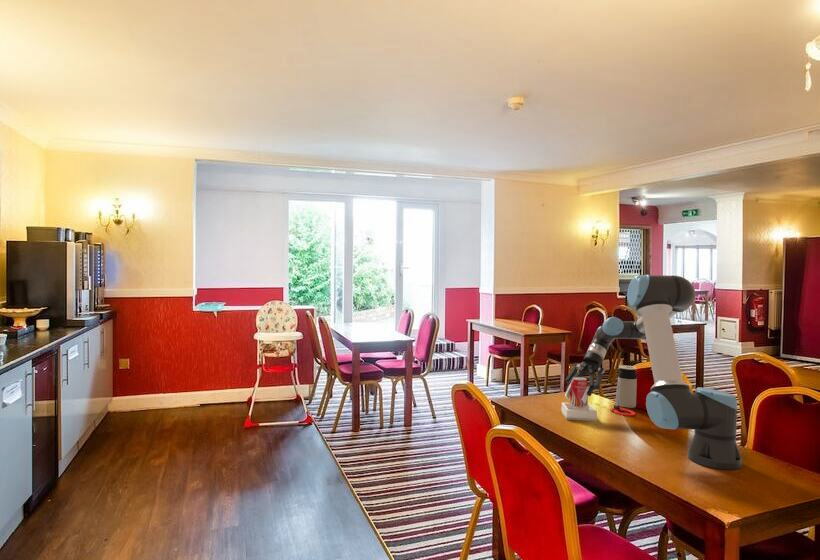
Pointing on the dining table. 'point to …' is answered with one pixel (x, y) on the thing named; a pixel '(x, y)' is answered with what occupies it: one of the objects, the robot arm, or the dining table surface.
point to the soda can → (578, 392)
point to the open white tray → (579, 412)
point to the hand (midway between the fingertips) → (574, 399)
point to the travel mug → (627, 386)
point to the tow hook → (617, 407)
